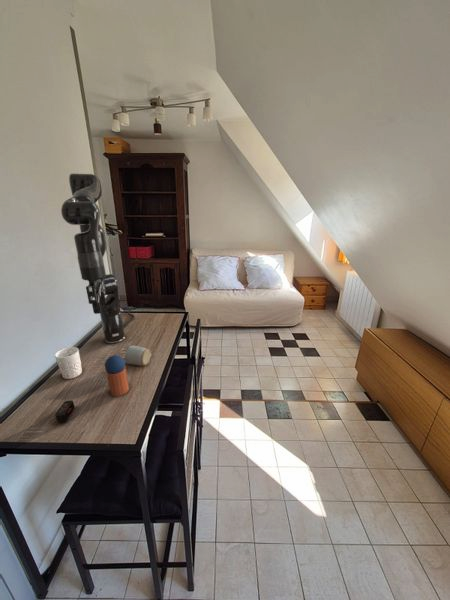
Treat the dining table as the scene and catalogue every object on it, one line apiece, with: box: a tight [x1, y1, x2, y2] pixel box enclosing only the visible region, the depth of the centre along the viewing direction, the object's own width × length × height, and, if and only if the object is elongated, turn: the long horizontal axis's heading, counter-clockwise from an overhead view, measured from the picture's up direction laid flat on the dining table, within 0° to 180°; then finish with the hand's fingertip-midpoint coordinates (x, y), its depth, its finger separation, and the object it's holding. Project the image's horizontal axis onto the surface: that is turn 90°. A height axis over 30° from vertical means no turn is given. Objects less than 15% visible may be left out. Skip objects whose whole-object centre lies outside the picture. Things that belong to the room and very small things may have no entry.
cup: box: [105, 366, 130, 397], centre depth 89 cm, size 6×6×9 cm
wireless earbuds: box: [54, 400, 76, 424], centre depth 79 cm, size 5×7×3 cm, turn 6°
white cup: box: [54, 346, 83, 380], centre depth 98 cm, size 8×8×10 cm
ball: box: [104, 354, 126, 374], centre depth 87 cm, size 6×6×6 cm
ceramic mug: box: [124, 345, 152, 367], centre depth 106 cm, size 11×8×8 cm
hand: (100, 308), depth 90 cm, fingers open, 8 cm apart
